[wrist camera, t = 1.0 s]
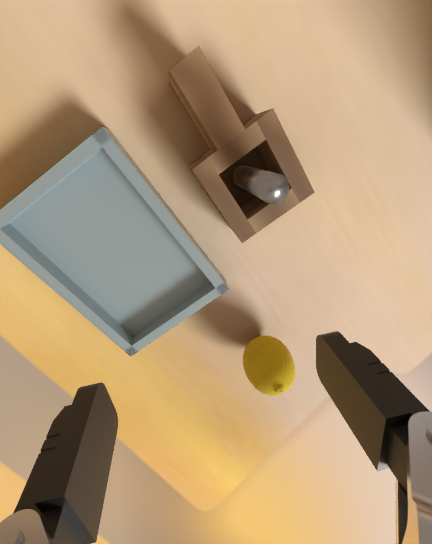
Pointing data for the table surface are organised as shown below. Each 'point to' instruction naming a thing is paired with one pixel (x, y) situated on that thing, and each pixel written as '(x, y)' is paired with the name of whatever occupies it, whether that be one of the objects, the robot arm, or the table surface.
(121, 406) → the table surface
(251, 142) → the collar
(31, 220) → the tray
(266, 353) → the lemon
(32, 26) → the table surface
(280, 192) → the peg
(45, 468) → the robot arm
